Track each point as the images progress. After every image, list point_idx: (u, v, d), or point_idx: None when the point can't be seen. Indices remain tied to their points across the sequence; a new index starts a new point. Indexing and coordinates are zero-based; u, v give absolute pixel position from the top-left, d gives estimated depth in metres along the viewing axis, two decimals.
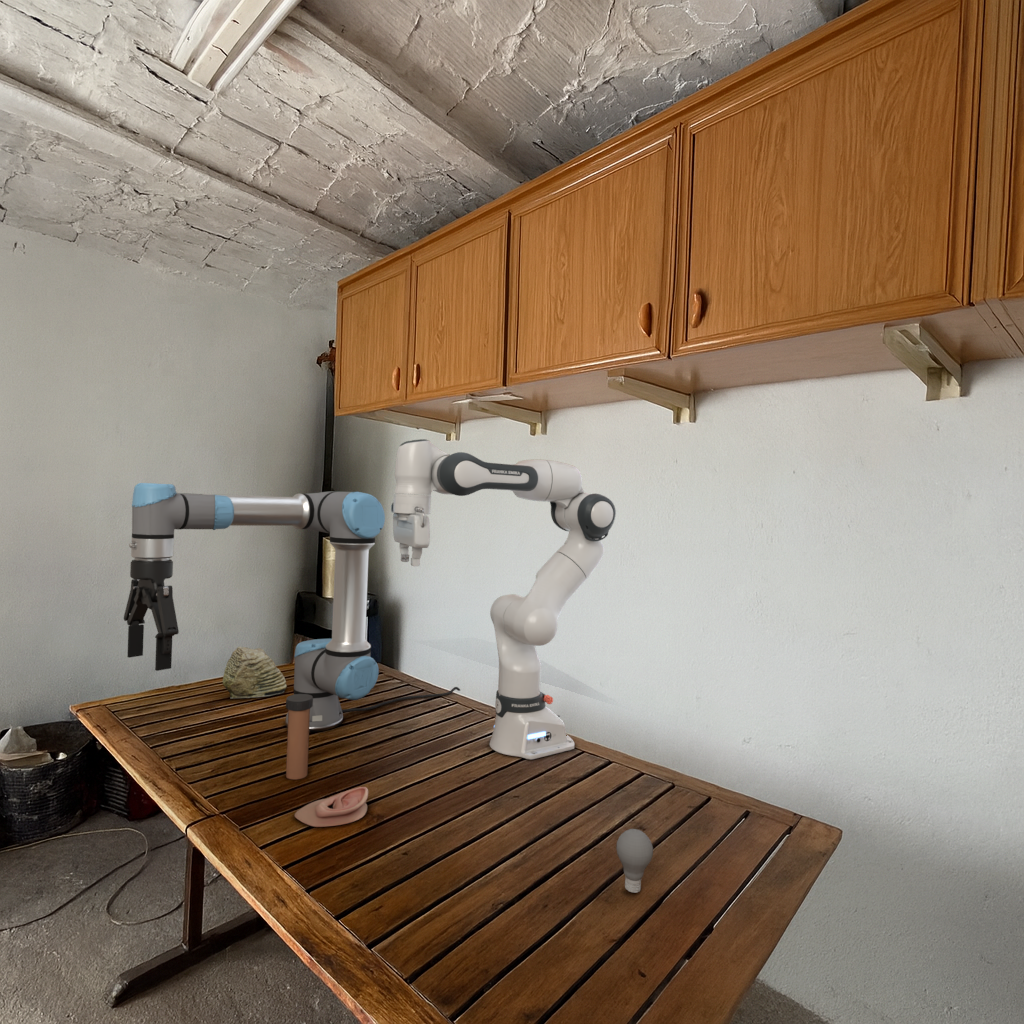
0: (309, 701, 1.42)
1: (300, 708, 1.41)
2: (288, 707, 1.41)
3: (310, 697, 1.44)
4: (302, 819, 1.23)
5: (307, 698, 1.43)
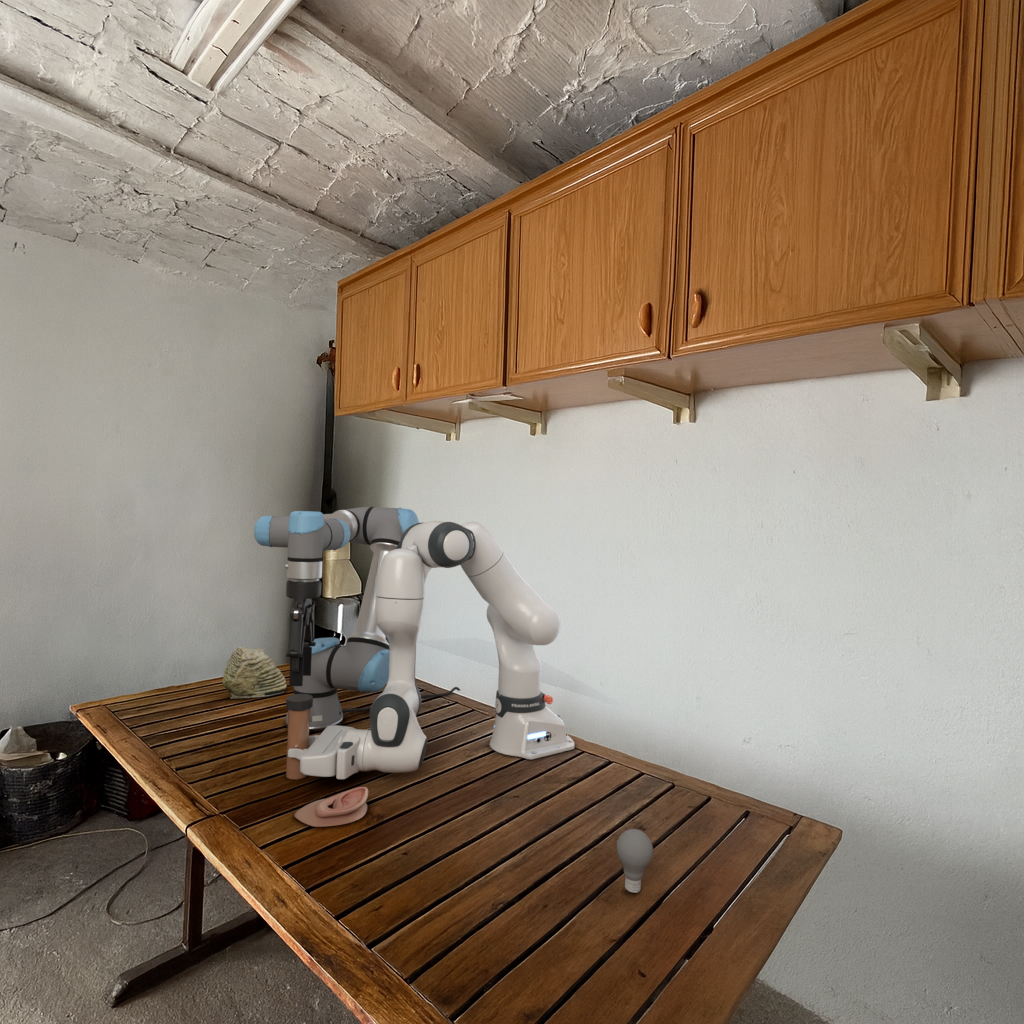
0: (309, 701, 1.42)
1: (300, 708, 1.41)
2: (288, 707, 1.41)
3: (310, 697, 1.44)
4: (302, 819, 1.23)
5: (307, 698, 1.43)
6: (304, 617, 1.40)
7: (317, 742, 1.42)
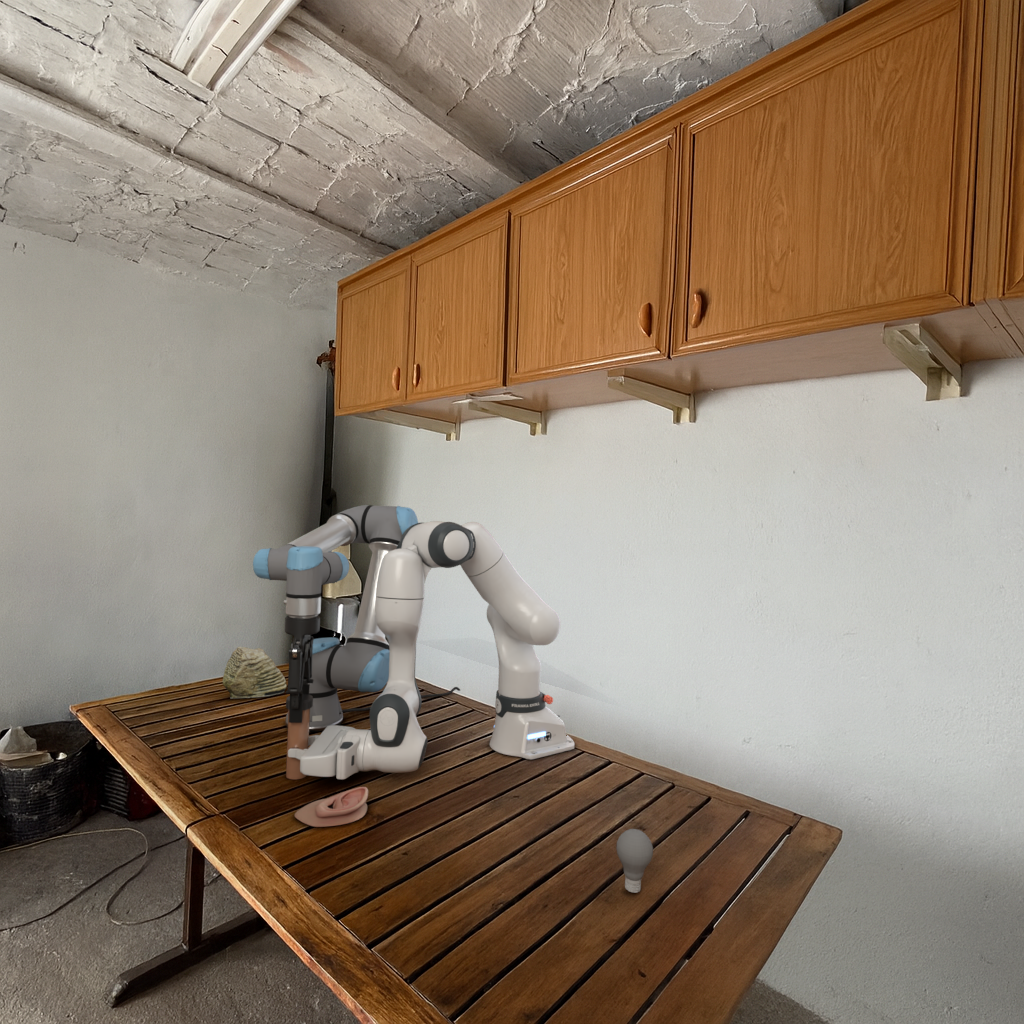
0: (309, 701, 1.42)
1: None
2: (288, 707, 1.41)
3: (310, 697, 1.44)
4: (302, 819, 1.23)
5: (307, 698, 1.43)
6: (303, 654, 1.41)
7: (317, 742, 1.42)
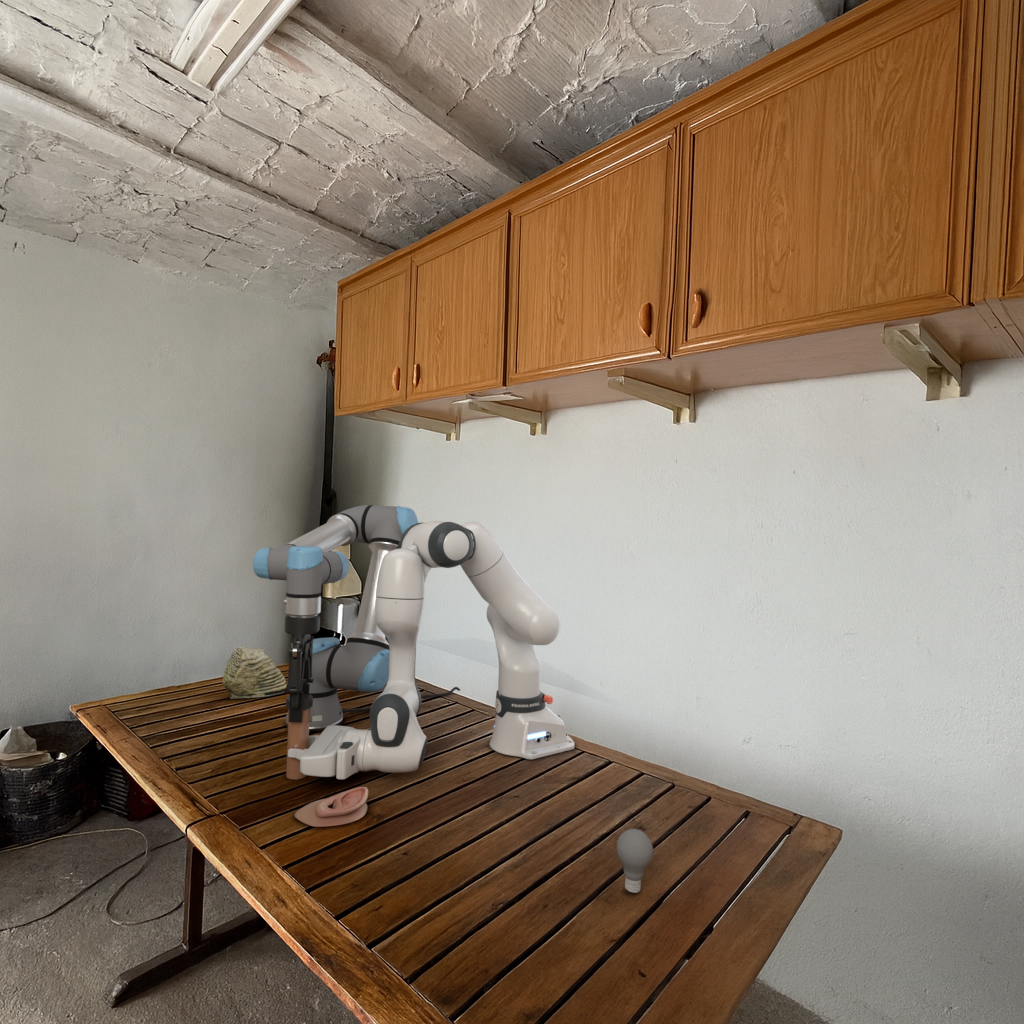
0: None
1: (312, 703, 1.44)
2: (304, 707, 1.41)
3: (303, 694, 1.46)
4: (302, 819, 1.23)
5: (305, 695, 1.45)
6: (303, 653, 1.41)
7: (317, 742, 1.42)
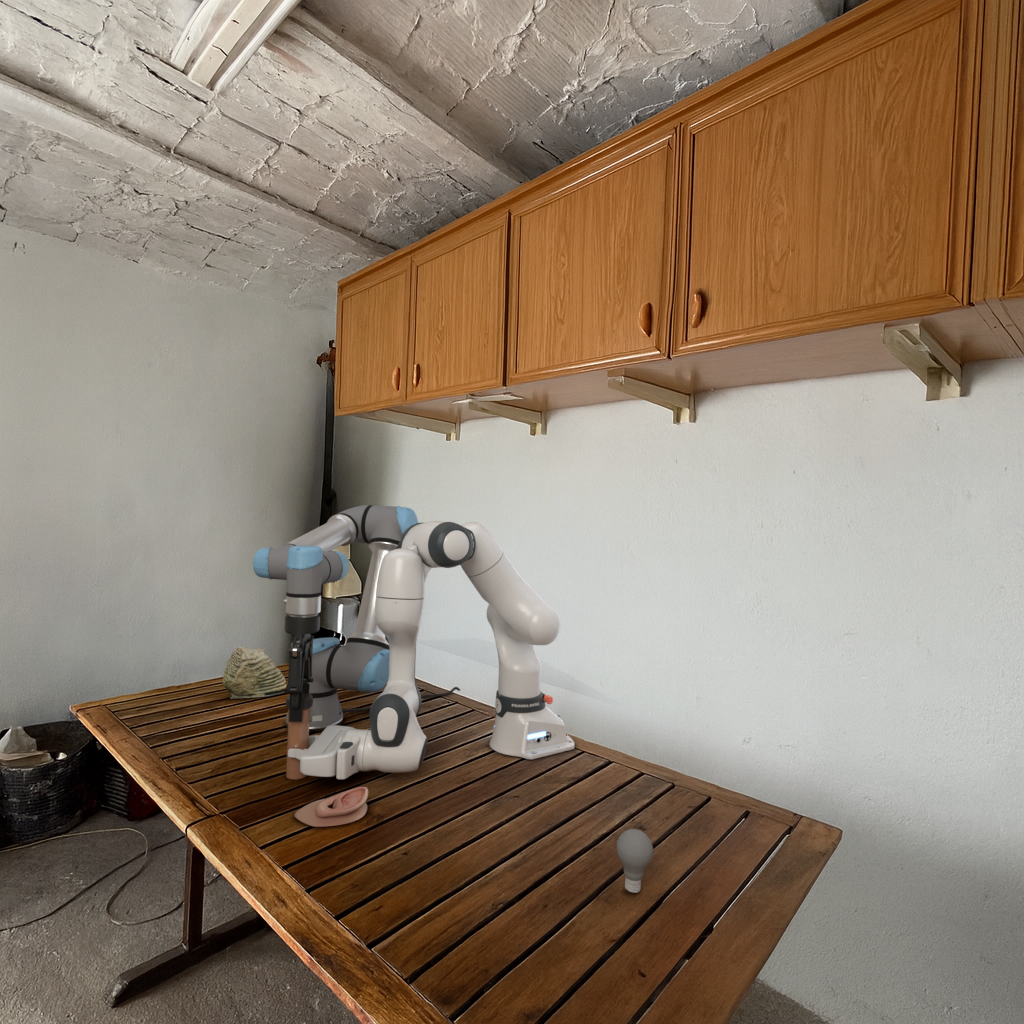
0: None
1: None
2: (312, 702, 1.45)
3: None
4: (302, 819, 1.23)
5: None
6: (303, 653, 1.41)
7: (317, 742, 1.42)
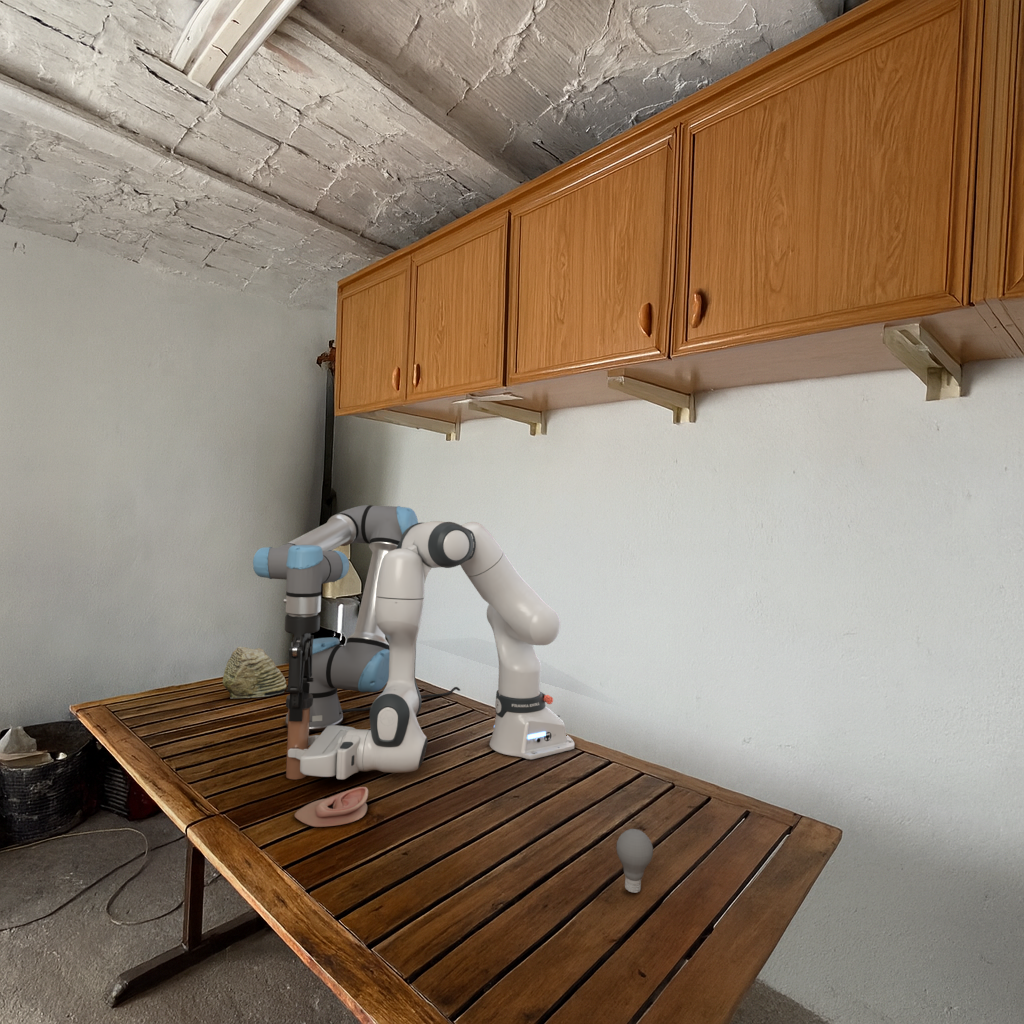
0: (286, 699, 1.42)
1: None
2: None
3: None
4: (302, 819, 1.23)
5: None
6: (303, 652, 1.41)
7: (317, 742, 1.42)
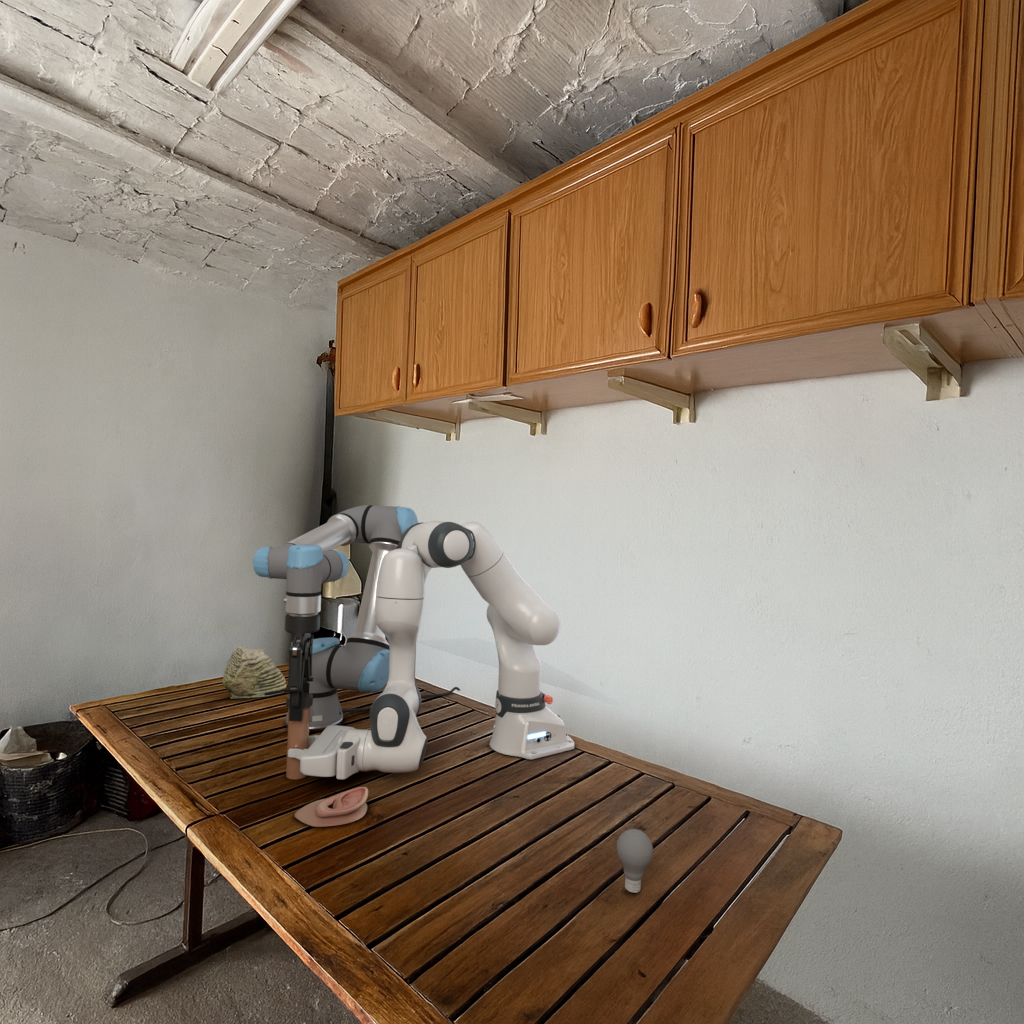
0: None
1: (289, 705, 1.41)
2: None
3: (305, 698, 1.42)
4: (302, 819, 1.23)
5: None
6: (303, 652, 1.41)
7: (317, 742, 1.42)
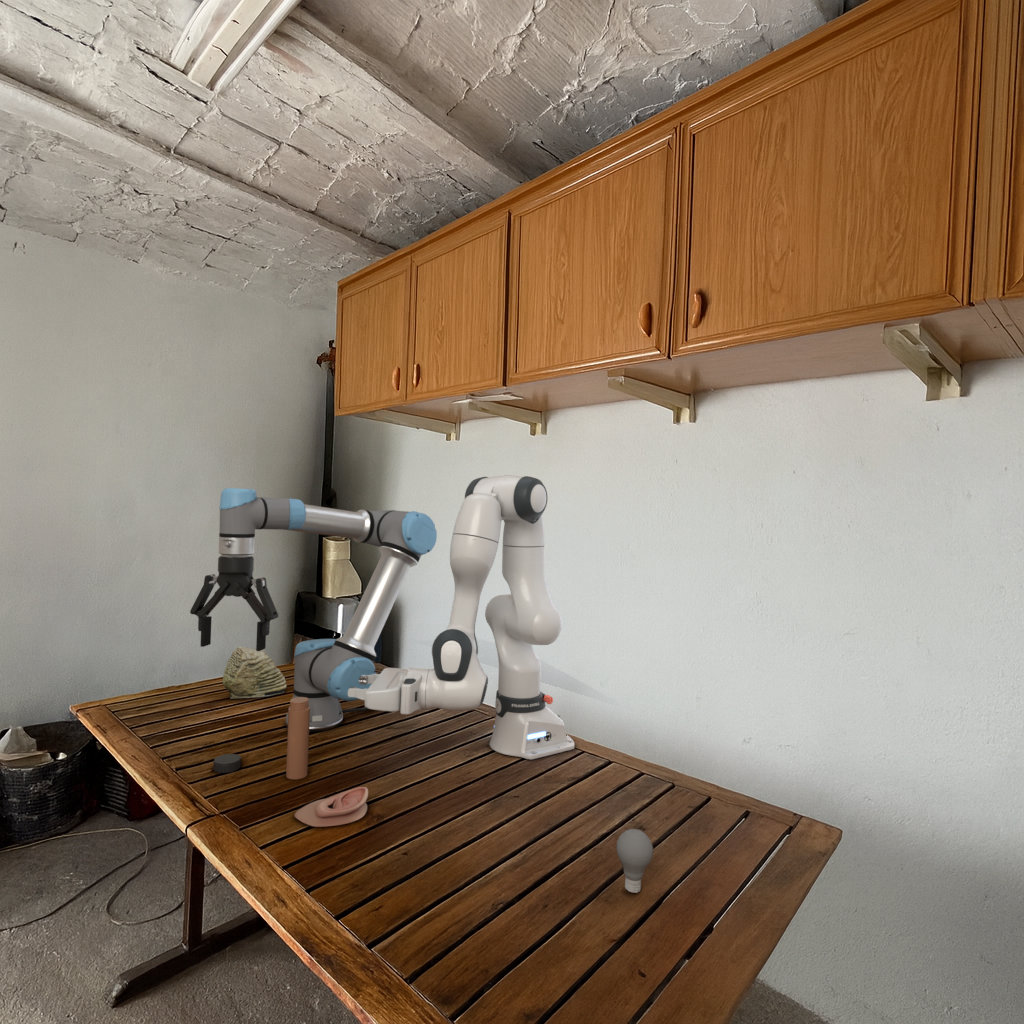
0: (239, 761, 1.46)
1: (232, 769, 1.44)
2: (219, 770, 1.43)
3: (238, 756, 1.47)
4: (302, 819, 1.23)
5: (236, 758, 1.46)
6: None
7: (378, 680, 1.41)
